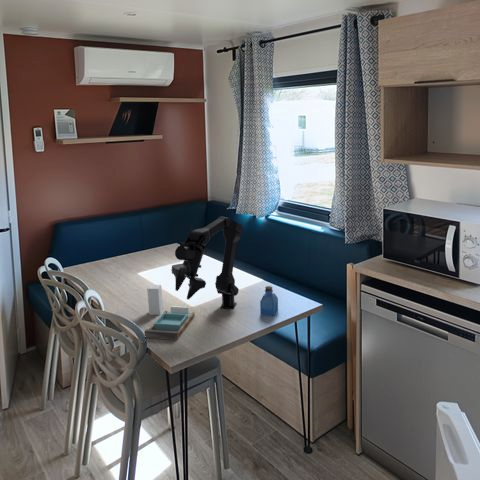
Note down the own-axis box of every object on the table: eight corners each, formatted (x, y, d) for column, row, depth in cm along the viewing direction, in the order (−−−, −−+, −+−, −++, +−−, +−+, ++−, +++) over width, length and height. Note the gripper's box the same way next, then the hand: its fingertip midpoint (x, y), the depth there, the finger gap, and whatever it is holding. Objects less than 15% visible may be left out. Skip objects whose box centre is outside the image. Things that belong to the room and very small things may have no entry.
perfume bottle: (260, 314, 226) (259, 289, 223) (264, 309, 232) (264, 284, 229) (273, 316, 224) (273, 290, 221) (278, 310, 229) (277, 285, 226)
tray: (168, 313, 229) (167, 305, 228) (192, 314, 227) (191, 307, 226) (154, 329, 213) (153, 321, 212) (179, 331, 211) (179, 322, 210)
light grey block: (152, 310, 235) (150, 284, 232) (163, 310, 234) (161, 284, 231) (149, 314, 230) (147, 288, 227) (160, 314, 229) (158, 288, 226)
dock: (165, 314, 229) (164, 308, 228) (194, 316, 226) (194, 310, 225) (144, 337, 207) (144, 331, 206) (177, 340, 204) (177, 333, 203)
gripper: (167, 250, 214) (155, 284, 216) (190, 265, 200) (177, 302, 202) (188, 254, 221) (176, 287, 223) (212, 269, 208) (199, 304, 210)
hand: (182, 294), depth 214 cm, fingers open, 9 cm apart
